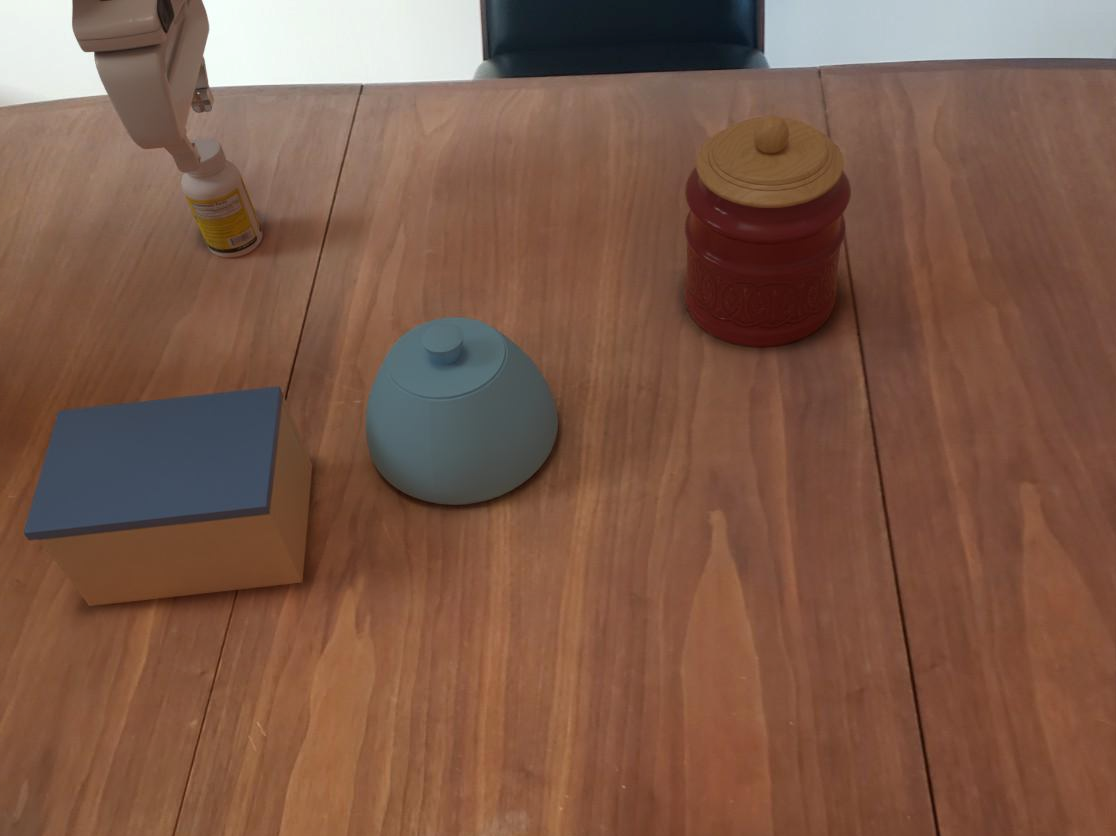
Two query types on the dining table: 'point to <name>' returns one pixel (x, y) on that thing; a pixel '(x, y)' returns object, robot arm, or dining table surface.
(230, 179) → the supplement bottle
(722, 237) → the kitchen canister
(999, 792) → the dining table surface
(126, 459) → the chest lid
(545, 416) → the sugar bowl
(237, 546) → the chest
